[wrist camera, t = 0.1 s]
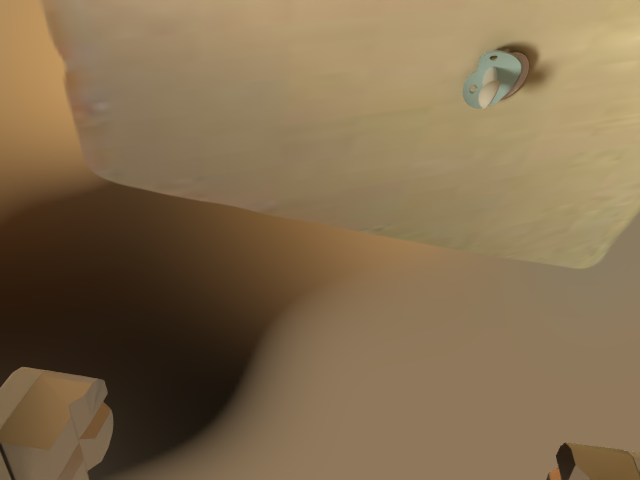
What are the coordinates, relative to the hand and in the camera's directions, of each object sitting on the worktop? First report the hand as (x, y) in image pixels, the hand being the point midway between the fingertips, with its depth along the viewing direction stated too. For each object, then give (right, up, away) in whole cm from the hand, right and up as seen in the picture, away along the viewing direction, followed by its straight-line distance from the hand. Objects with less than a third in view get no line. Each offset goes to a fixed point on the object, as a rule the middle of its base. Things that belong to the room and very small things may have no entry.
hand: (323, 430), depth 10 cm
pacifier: (+19, +22, +53) cm, 60 cm away
